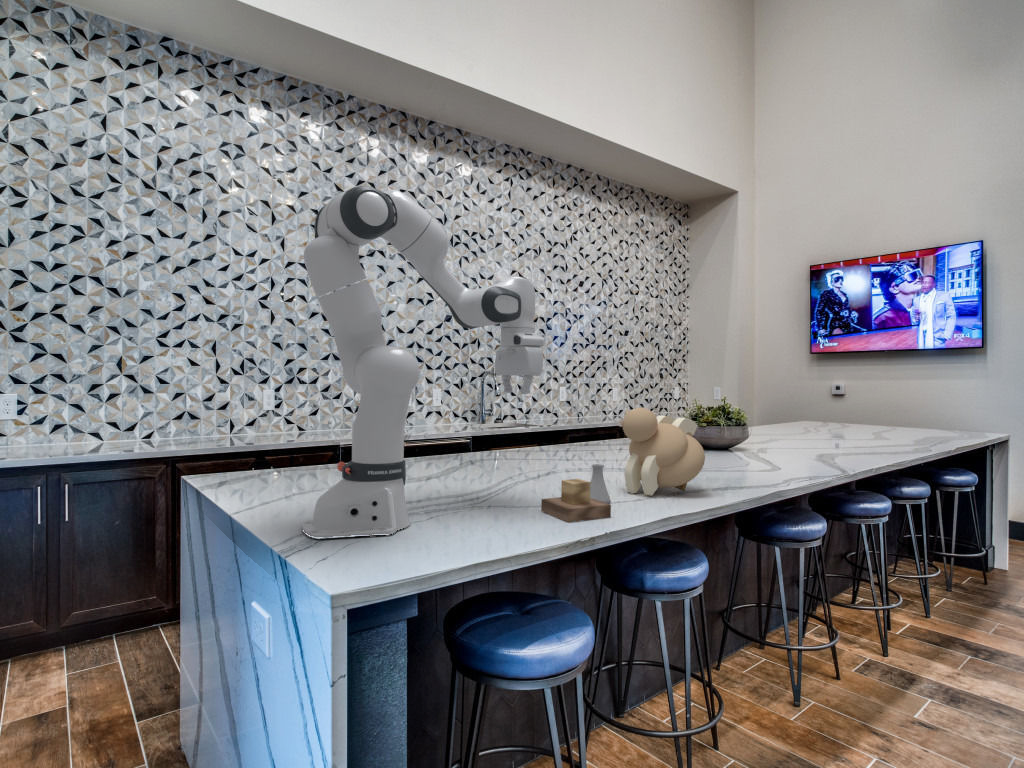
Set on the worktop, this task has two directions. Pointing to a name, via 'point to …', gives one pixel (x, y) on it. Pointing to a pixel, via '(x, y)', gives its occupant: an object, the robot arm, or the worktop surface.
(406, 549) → the worktop surface
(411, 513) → the worktop surface
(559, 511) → the walnut base
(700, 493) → the worktop surface
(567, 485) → the oak cube
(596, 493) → the flask
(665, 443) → the tan rounded figure
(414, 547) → the worktop surface
